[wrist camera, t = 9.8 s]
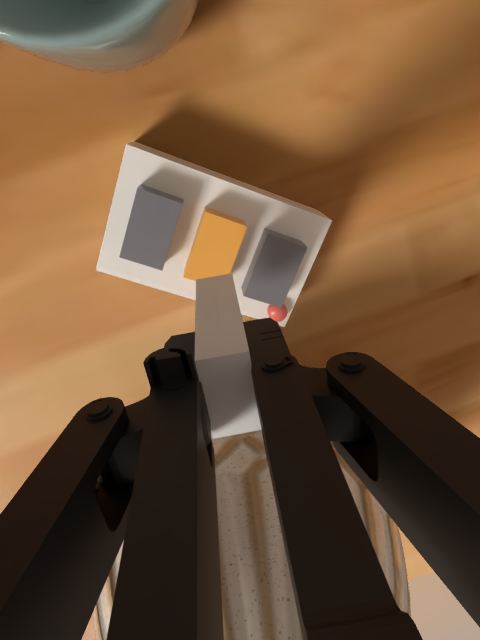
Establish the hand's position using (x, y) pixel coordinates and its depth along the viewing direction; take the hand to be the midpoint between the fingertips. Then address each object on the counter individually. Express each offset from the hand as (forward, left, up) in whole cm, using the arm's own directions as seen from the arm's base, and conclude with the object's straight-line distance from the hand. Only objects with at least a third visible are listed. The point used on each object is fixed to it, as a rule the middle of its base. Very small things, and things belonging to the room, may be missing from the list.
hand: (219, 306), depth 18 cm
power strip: (-2, 0, -7) cm, 7 cm away
